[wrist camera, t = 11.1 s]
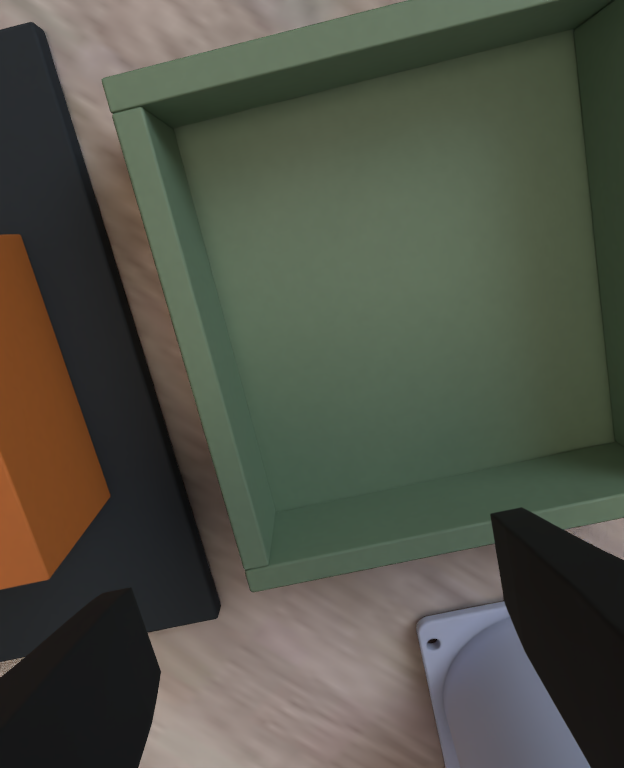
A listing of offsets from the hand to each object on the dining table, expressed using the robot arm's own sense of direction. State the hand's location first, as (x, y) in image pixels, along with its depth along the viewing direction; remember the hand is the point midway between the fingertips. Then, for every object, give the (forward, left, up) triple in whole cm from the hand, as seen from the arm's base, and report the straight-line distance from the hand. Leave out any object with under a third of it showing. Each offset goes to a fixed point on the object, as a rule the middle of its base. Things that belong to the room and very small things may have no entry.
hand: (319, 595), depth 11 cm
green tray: (+4, -4, -9) cm, 11 cm away
